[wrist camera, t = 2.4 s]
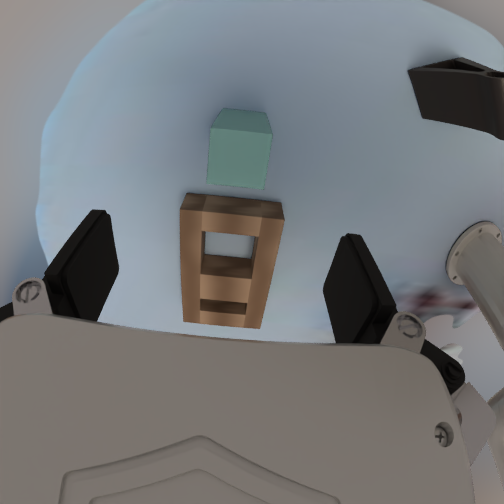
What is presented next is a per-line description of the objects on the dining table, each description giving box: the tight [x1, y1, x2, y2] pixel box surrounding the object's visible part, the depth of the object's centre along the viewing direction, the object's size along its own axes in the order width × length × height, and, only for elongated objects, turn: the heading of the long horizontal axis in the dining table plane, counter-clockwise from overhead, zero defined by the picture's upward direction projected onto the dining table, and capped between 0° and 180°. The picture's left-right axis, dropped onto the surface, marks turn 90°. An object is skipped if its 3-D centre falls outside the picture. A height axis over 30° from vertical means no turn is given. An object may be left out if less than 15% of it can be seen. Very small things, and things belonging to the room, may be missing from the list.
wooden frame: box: [180, 193, 285, 329], centre depth 37 cm, size 11×18×4 cm, turn 173°
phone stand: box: [408, 58, 504, 140], centre depth 19 cm, size 9×6×12 cm, turn 117°
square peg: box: [207, 108, 273, 190], centre depth 25 cm, size 4×4×10 cm
